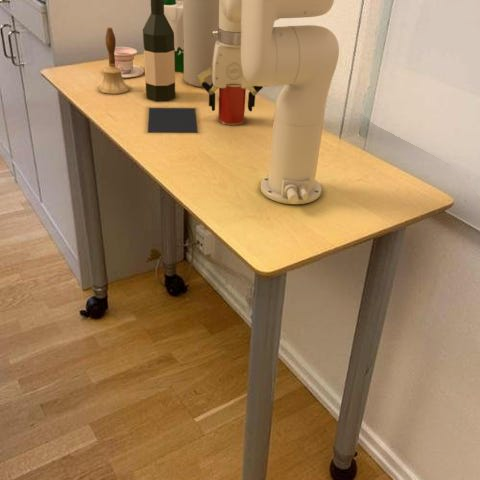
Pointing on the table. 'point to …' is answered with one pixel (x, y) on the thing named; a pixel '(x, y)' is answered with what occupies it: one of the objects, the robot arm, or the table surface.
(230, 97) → the tin can
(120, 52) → the teacup
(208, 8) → the cylinder vase
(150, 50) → the wine bottle
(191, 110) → the placemat
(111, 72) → the hand bell
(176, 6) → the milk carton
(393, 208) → the table surface
